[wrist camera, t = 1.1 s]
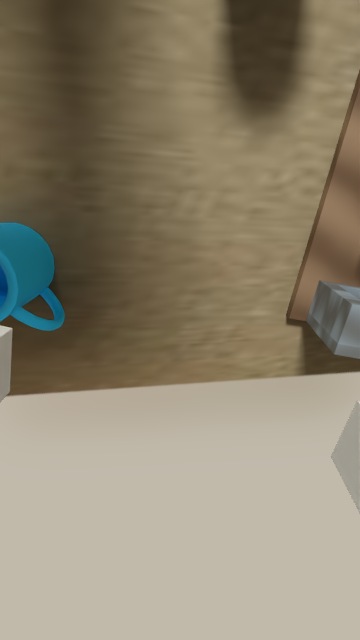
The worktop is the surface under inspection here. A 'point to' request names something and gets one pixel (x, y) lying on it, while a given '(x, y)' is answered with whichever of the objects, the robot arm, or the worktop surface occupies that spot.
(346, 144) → the rig
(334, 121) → the worktop surface
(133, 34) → the worktop surface
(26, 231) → the mug
